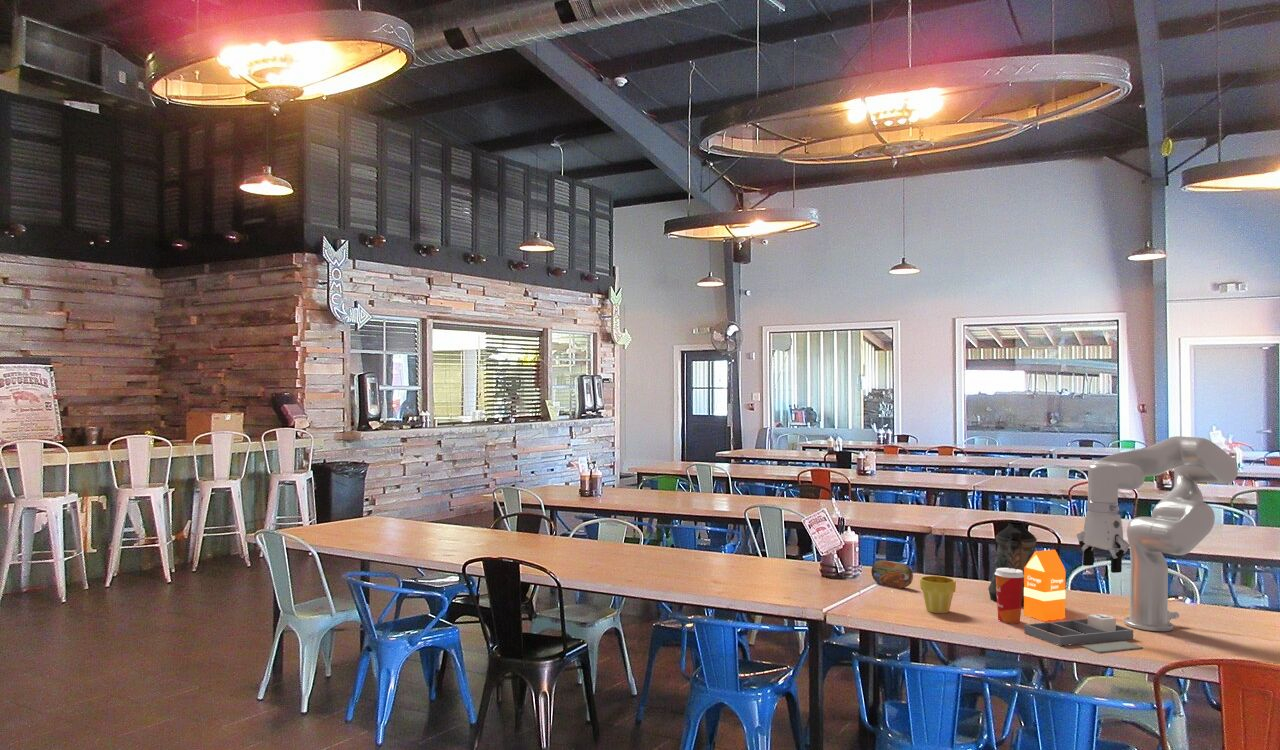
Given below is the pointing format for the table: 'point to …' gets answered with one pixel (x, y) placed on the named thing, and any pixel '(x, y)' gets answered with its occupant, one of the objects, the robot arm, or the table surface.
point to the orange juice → (1044, 586)
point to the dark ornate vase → (1012, 552)
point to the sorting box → (1075, 632)
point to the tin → (892, 573)
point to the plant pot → (937, 593)
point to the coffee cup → (1009, 594)
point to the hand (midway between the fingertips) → (1102, 568)
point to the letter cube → (1102, 622)
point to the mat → (1111, 646)
